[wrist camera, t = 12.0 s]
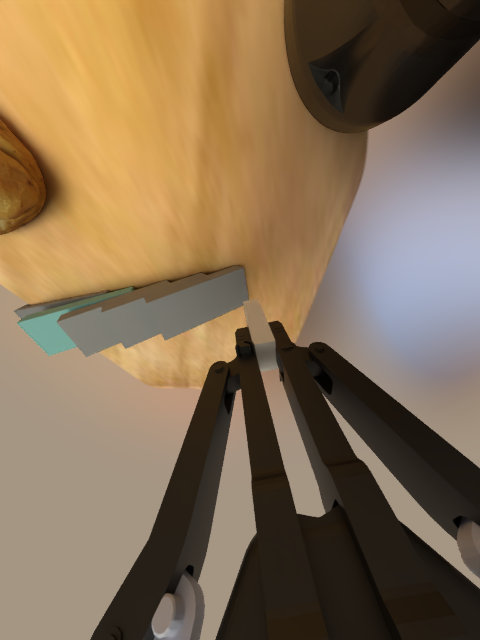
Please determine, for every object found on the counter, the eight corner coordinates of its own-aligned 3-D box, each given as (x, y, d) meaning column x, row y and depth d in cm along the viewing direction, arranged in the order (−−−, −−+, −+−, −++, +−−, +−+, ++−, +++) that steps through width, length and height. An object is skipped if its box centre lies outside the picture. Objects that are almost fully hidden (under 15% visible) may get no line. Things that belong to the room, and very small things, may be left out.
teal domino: (130, 291, 23) (16, 322, 20) (148, 323, 26) (49, 355, 23) (132, 286, 25) (27, 315, 22) (148, 317, 27) (56, 346, 25)
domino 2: (207, 275, 23) (101, 312, 19) (216, 309, 26) (125, 348, 22) (201, 272, 25) (102, 306, 20) (210, 304, 27) (125, 340, 23)
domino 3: (243, 267, 23) (146, 303, 19) (249, 302, 26) (165, 340, 22) (235, 265, 25) (143, 297, 20) (242, 298, 27) (161, 332, 23)
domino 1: (170, 283, 23) (56, 322, 19) (183, 316, 26) (86, 356, 22) (166, 279, 25) (60, 314, 21) (179, 311, 27) (88, 348, 23)
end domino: (104, 293, 24) (13, 311, 24) (123, 324, 27) (42, 340, 27) (111, 287, 26) (27, 304, 26) (129, 317, 28) (52, 332, 28)
